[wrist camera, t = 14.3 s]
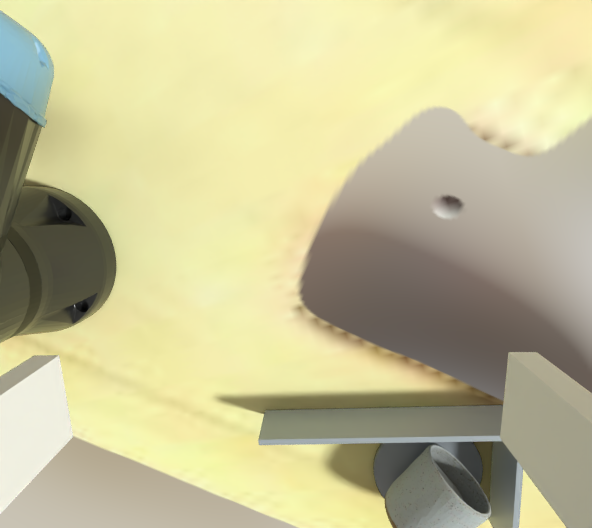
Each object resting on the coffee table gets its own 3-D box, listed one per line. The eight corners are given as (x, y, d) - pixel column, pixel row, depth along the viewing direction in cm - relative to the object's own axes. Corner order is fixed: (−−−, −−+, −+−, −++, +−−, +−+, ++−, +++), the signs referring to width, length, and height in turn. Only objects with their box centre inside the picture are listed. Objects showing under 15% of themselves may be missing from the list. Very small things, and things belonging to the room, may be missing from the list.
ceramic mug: (374, 481, 42) (387, 545, 35) (420, 430, 41) (444, 487, 33) (445, 528, 43) (473, 600, 36) (493, 481, 42) (533, 546, 34)
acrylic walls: (274, 519, 45) (269, 560, 40) (265, 410, 42) (258, 439, 37) (495, 519, 43) (518, 561, 38) (502, 405, 40) (527, 435, 35)
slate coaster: (374, 512, 44) (375, 516, 43) (372, 422, 42) (373, 425, 41) (478, 512, 43) (480, 516, 43) (482, 420, 41) (484, 423, 40)
